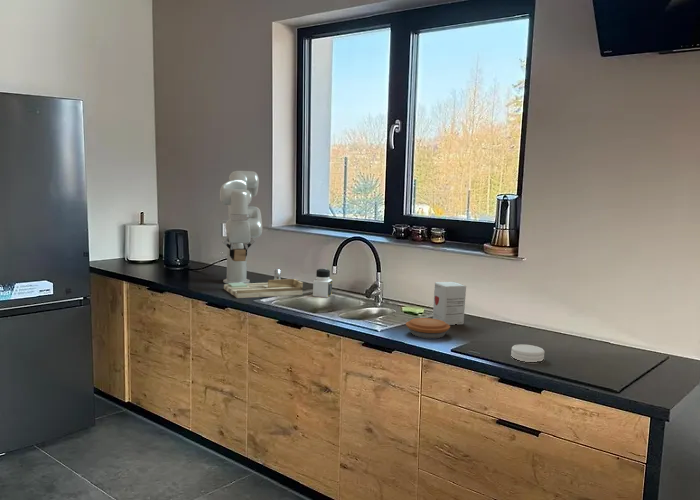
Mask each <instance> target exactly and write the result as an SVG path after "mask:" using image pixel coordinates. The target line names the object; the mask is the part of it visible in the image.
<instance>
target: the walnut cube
mask: <svg viewBox="0 0 700 500" xmlns="http://www.w3.org/2000/svg"><path fill="white" fill-rule="evenodd" d="M233 250H234V259H232V260H233V261H246V250H245V249H243V248H242V249H233Z"/></svg>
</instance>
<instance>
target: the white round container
mask: <svg viewBox="0 0 700 500" xmlns="http://www.w3.org/2000/svg"><path fill="white" fill-rule="evenodd" d="M510 353H511V354H510V357H511V356H512V357H513V358H515V359H517V360H520V361H525V362H537V361H542V360H543V359H544V360H545V350H544V349H543V347H539V346H537V345H532V344H514V345H513V346H512V347H511V351H510ZM512 357H511V358H512ZM513 358H512V359H513ZM517 360H516V361H517ZM520 361H519V362H520ZM525 362H524V363H525Z"/></svg>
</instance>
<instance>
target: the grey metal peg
mask: <svg viewBox="0 0 700 500" xmlns="http://www.w3.org/2000/svg"><path fill="white" fill-rule="evenodd" d="M281 271H282V269H280V268H274V269H273V280H279V279H282V278H281V274H282V273H281Z"/></svg>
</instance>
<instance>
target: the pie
mask: <svg viewBox="0 0 700 500" xmlns="http://www.w3.org/2000/svg"><path fill="white" fill-rule="evenodd" d="M405 326H406V327H407V328H408V330H409V332H410V333H412V334H413V335H412V334H411V335H412V336H414V335H415V336H414V337H416V336H418V337H417V338H420V337H422V338H421V339H429V338H435V339H440V337H441V338H443V337H444V336H445V335H446V333H447V331H449V330H450V328H451V325H448V324H447V323H445V322H444V321H442V320H438V319H433V317H432V318H431V317H417V318H416V317H415V318H413V319H410V320H409V321H406V323H405Z"/></svg>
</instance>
